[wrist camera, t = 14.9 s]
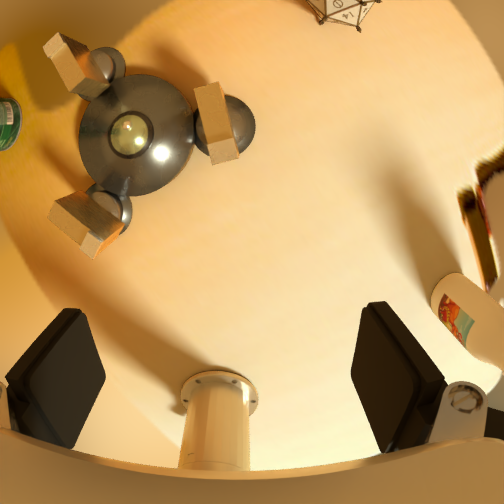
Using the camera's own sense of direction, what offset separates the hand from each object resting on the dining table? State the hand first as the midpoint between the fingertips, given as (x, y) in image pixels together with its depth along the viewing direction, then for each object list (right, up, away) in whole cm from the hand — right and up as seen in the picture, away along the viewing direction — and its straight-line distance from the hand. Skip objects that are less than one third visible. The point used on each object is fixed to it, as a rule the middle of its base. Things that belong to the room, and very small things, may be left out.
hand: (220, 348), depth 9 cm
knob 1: (-17, +25, +19) cm, 36 cm away
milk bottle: (+32, -3, +31) cm, 44 cm away
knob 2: (-2, +17, +22) cm, 28 cm away
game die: (+10, +32, +17) cm, 38 cm away
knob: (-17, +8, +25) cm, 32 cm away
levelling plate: (-13, +15, +23) cm, 30 cm away
